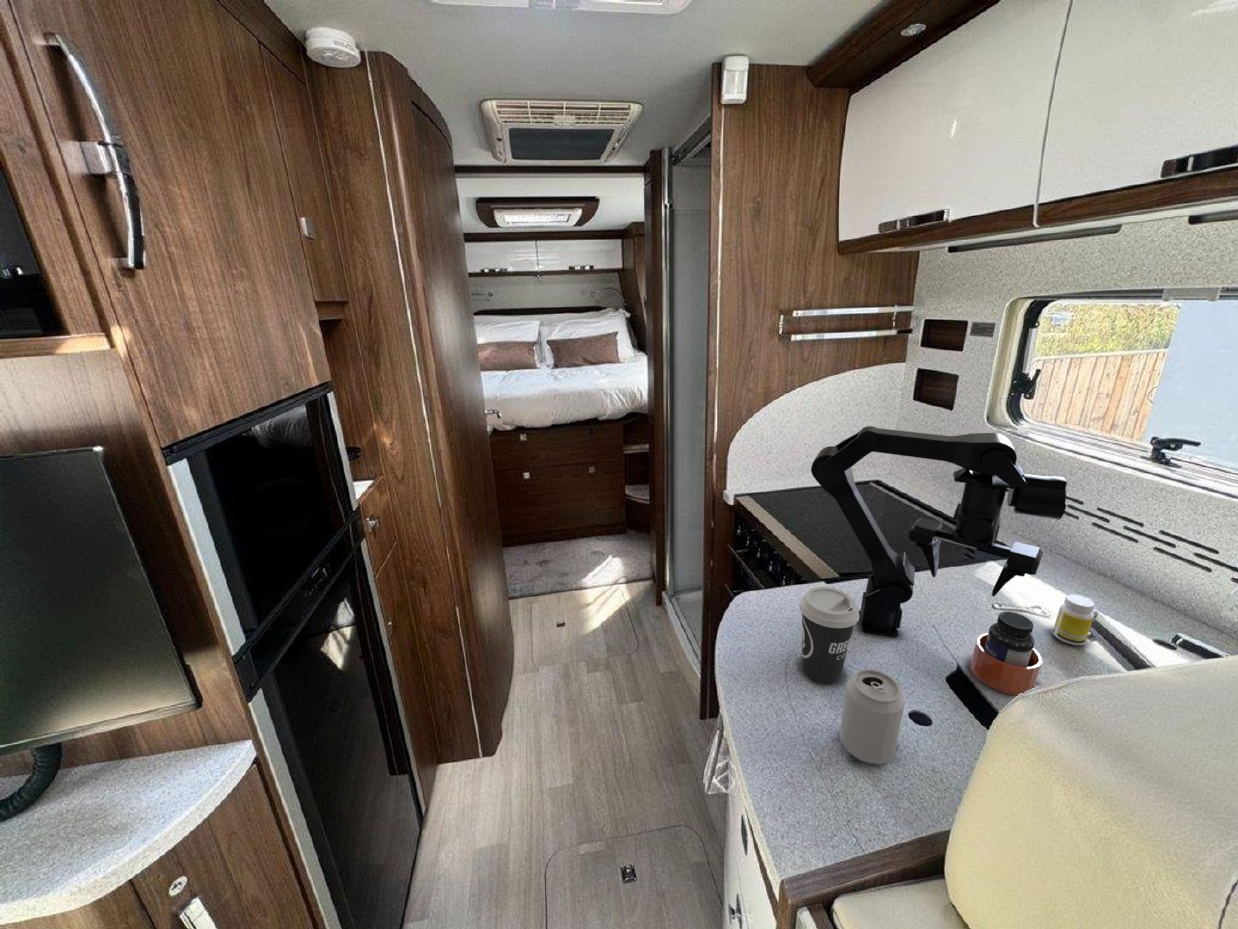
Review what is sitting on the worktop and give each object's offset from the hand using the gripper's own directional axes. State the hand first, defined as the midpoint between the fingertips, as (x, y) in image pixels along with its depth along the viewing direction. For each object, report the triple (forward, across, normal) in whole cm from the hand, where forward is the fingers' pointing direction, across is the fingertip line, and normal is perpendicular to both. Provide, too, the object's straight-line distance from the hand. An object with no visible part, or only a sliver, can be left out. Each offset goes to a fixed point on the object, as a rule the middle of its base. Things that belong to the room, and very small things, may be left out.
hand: (962, 585), depth 91 cm
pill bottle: (+13, -8, +3) cm, 16 cm away
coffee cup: (+13, +15, +23) cm, 30 cm away
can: (+13, +3, +34) cm, 36 cm away
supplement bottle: (+13, -16, -17) cm, 27 cm away
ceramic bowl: (+13, -9, +3) cm, 16 cm away
